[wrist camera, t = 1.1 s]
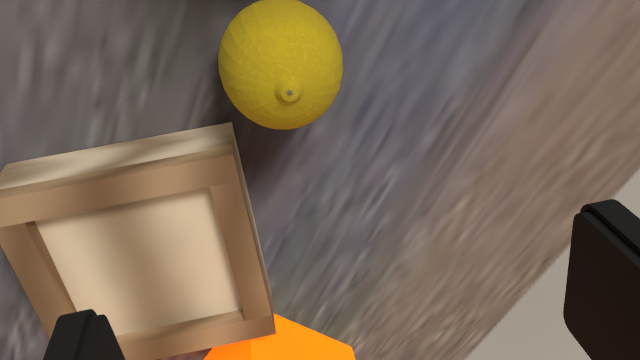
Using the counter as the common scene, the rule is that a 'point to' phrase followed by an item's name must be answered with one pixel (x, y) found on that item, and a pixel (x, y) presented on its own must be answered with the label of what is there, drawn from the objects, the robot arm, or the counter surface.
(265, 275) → the square wooden box
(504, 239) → the counter surface
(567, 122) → the counter surface
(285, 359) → the orange juice
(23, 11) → the counter surface
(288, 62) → the lemon
